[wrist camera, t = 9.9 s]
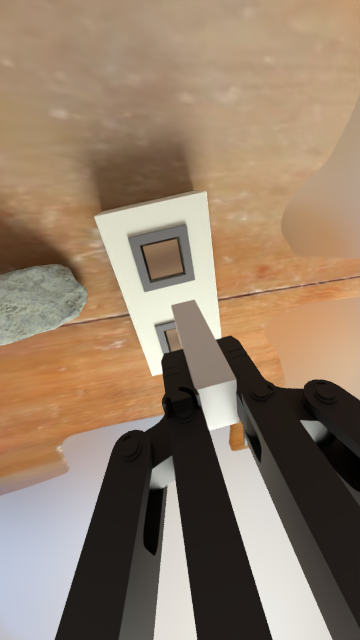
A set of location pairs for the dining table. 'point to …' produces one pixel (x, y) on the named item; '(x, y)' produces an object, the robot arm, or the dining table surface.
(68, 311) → the decorative stone
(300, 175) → the dining table surface
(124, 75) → the dining table surface
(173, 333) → the peg
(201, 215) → the socket block
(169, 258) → the peg
